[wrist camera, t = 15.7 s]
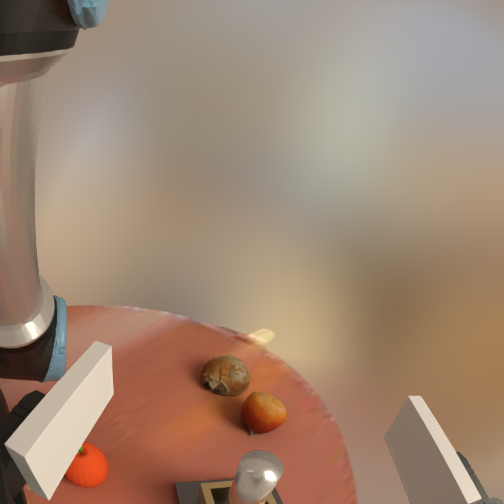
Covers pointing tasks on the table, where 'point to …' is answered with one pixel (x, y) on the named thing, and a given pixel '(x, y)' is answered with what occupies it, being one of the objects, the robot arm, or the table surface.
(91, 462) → the clementine
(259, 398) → the fruit
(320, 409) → the table surface
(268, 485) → the silver metal tall cylinder
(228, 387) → the bread roll
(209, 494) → the gold square holder
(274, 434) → the table surface
